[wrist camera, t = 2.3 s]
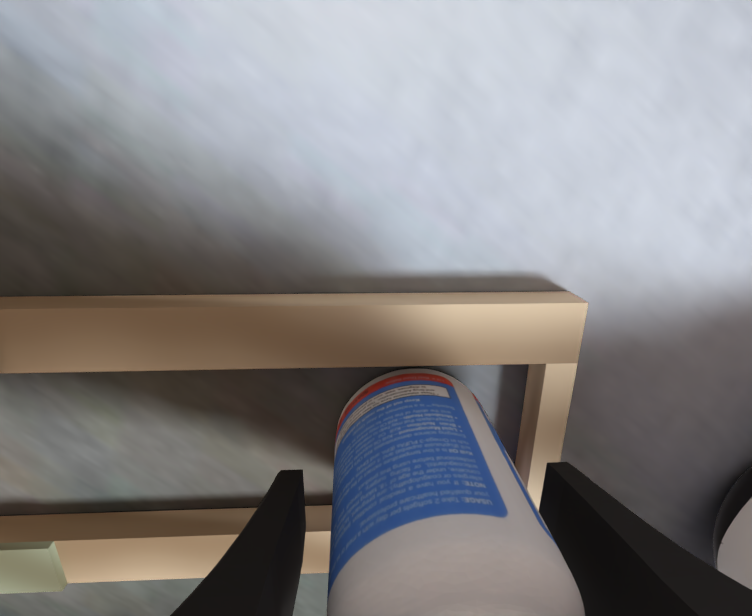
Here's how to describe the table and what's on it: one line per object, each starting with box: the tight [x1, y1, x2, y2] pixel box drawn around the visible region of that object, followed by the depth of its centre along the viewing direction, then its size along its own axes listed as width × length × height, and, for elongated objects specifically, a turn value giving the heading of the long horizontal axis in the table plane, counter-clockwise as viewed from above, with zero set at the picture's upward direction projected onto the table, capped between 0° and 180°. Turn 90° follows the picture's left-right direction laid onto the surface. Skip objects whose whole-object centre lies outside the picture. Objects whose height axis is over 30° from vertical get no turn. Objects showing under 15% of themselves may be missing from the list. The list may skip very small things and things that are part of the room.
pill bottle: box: [327, 368, 585, 616], centre depth 11 cm, size 6×5×10 cm
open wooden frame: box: [0, 291, 588, 594], centre depth 14 cm, size 10×24×2 cm, turn 90°
